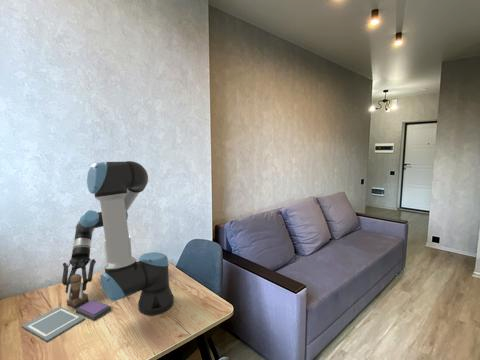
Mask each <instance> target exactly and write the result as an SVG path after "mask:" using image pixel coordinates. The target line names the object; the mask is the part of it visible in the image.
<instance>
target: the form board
mask: <svg viewBox="0 0 480 360" xmlns="http://www.w3.org/2000/svg"><path fill="white" fill-rule="evenodd" d="M85 320H86V317H85V316H82V315H80V314H78V313H76V312H73V311H71V310H69V309H66V308H64V307H63V306H58V307H56V308H53V309H52V310H50V311H48V312H46V313H44V314H42V315H39V316H38V317H36V318H34V319H32V320H30V321H28V322H26V323H24V324H22V325H21V327H22V328H23V329H24V330H25V331H28V332H30V333H32V334H33V335H35V336H37V337H38V338H40V339H41V340H43V341H44V342H47V343H48V342H49V341H51V340H53V339H55V338H57V337H58V336H60V335H61V334H64V333H65V332H66V331H68V330H70V329H72V328H73V327H75V326H76V325H78V324H80V323H82V322H83V321H85Z"/></svg>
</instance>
